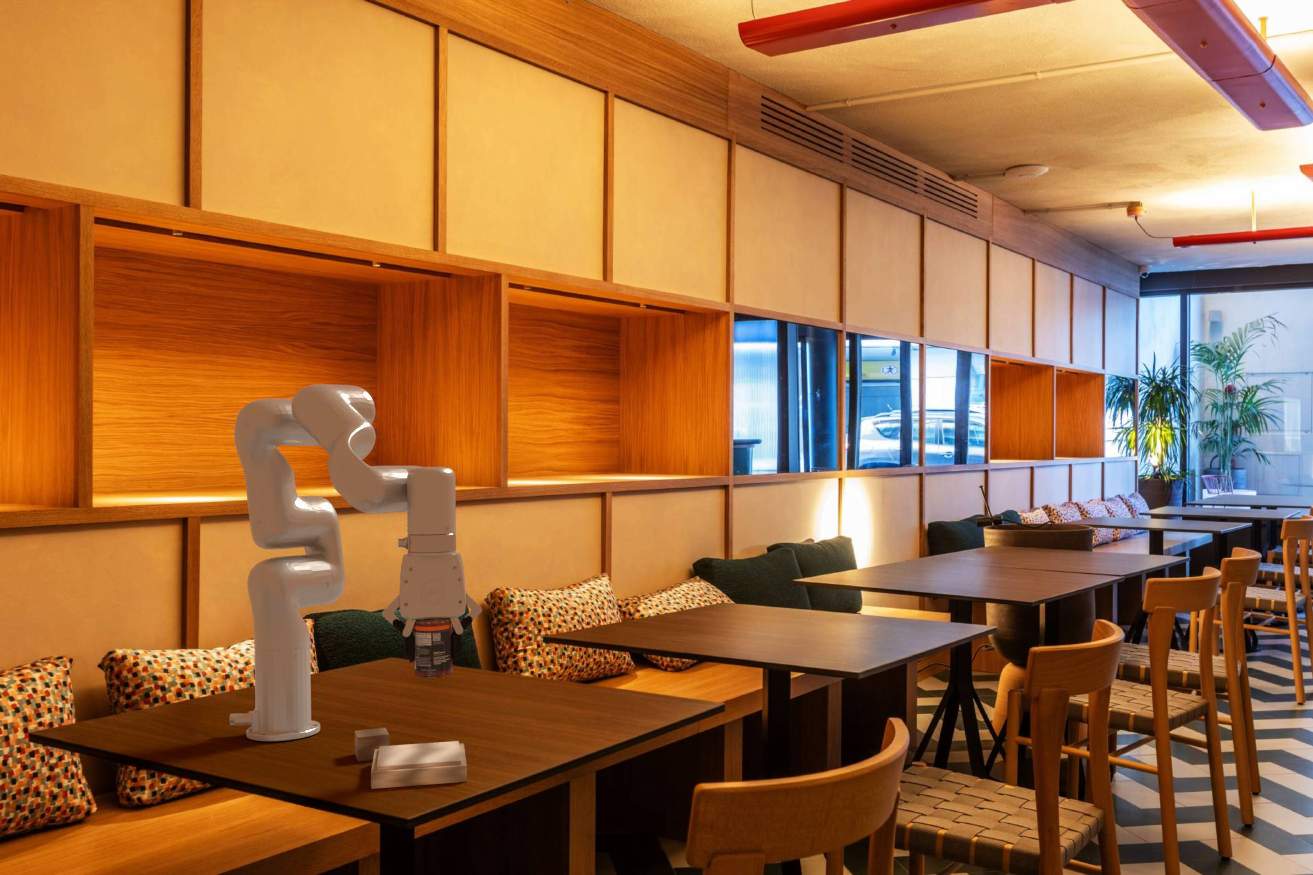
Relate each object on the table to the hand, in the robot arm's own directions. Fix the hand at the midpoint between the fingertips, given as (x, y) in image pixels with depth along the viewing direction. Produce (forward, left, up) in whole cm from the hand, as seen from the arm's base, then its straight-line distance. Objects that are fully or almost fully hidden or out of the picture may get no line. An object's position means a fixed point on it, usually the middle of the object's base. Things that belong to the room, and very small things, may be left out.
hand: (433, 658), depth 179 cm
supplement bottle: (0, 0, -3) cm, 3 cm away
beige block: (-10, +11, -17) cm, 23 cm away
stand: (-2, -2, -17) cm, 17 cm away
